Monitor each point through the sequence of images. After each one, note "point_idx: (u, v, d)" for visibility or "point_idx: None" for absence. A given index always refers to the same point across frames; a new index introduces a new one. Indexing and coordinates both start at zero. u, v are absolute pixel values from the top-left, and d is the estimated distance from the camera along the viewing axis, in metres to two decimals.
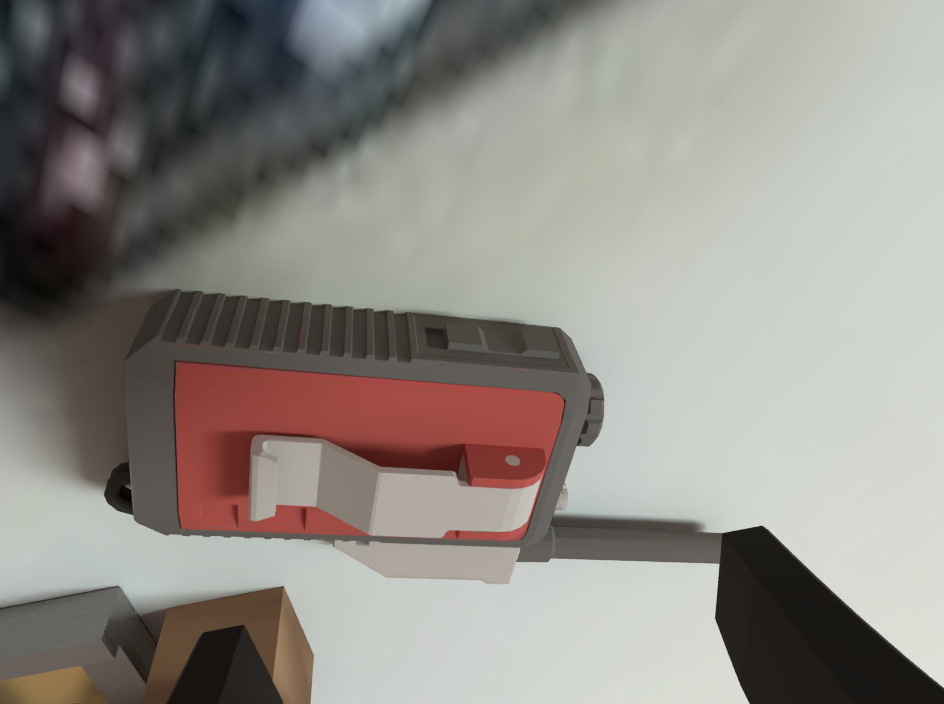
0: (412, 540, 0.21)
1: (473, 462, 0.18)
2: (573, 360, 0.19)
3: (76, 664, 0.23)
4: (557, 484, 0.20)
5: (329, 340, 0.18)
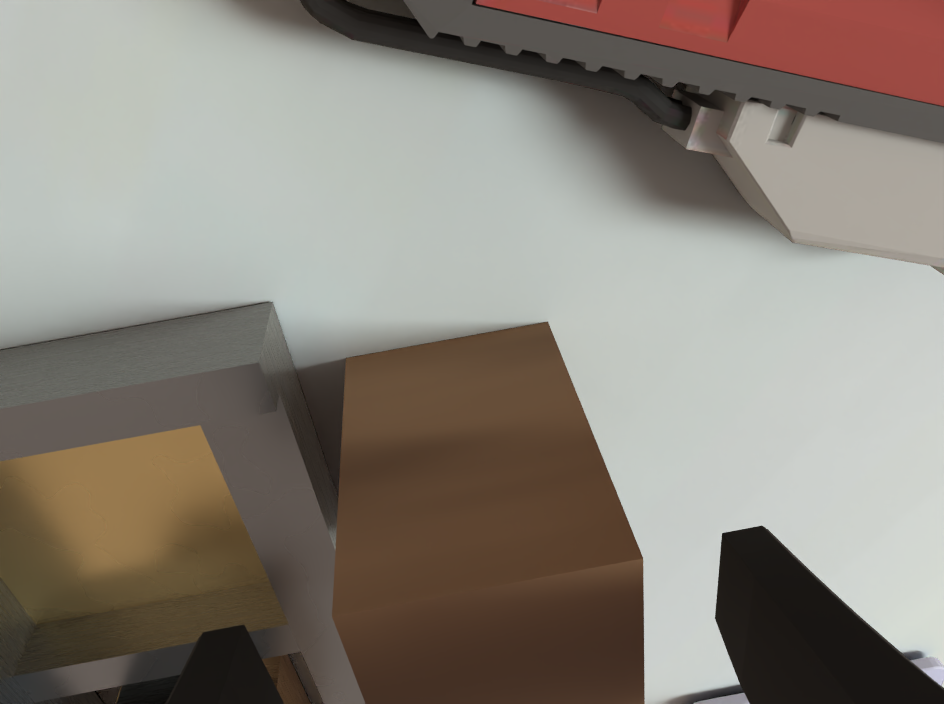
0: (908, 113, 0.10)
1: None
2: None
3: (204, 420, 0.12)
4: None
5: None
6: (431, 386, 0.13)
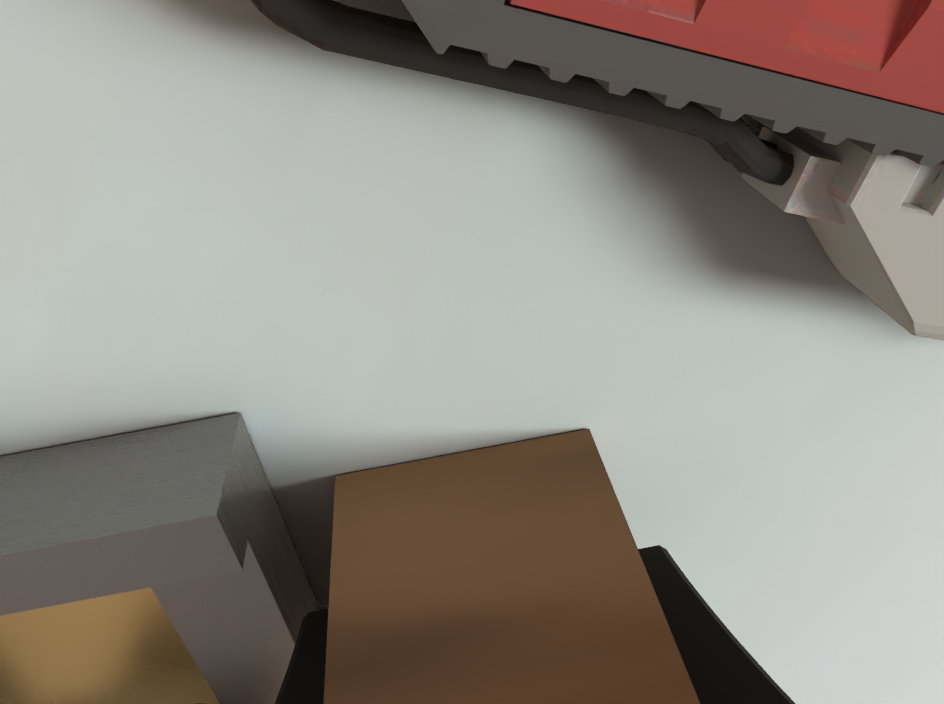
0: None
1: None
2: None
3: (148, 582, 0.09)
4: None
5: None
6: (444, 527, 0.10)
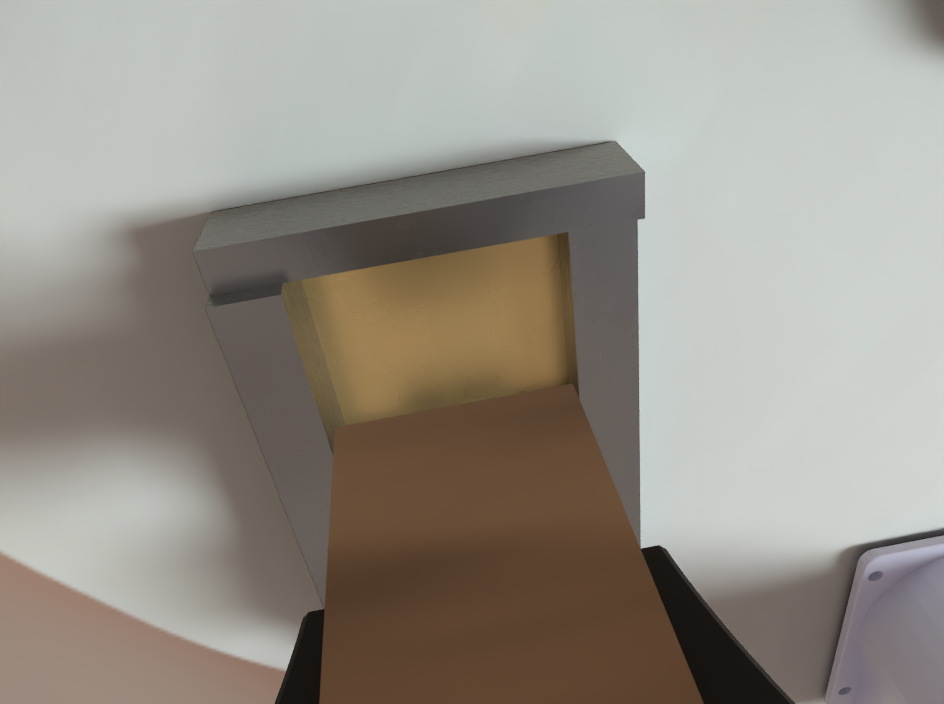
0: None
1: None
2: None
3: (588, 224, 0.15)
4: None
5: None
6: (436, 470, 0.11)
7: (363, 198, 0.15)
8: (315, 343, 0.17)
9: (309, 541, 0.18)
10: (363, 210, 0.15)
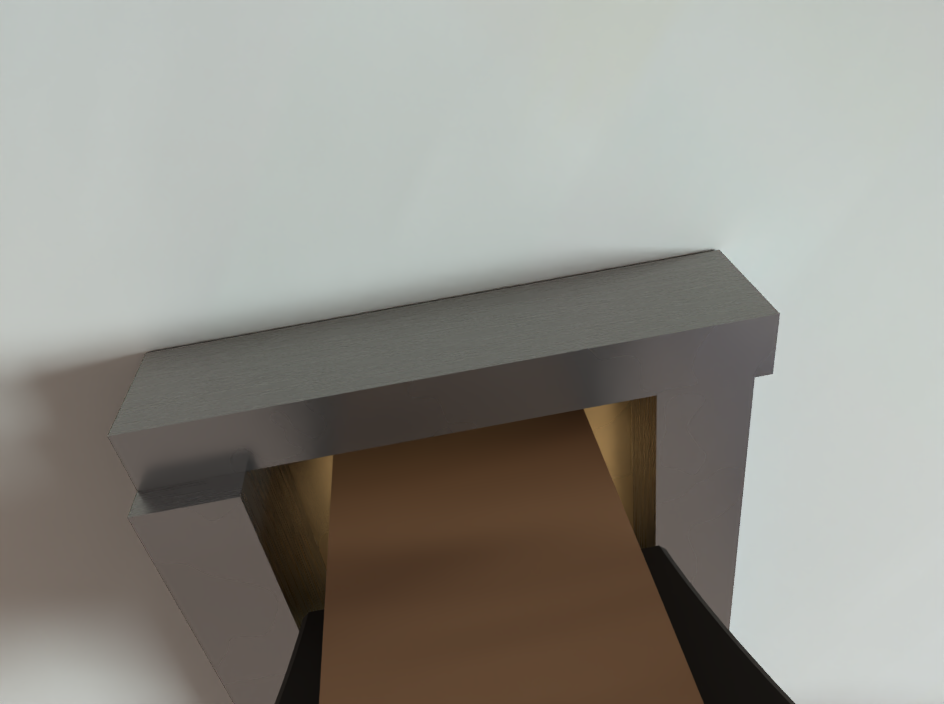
0: None
1: None
2: None
3: (692, 384, 0.10)
4: None
5: None
6: (435, 470, 0.11)
7: (363, 340, 0.11)
8: (297, 518, 0.12)
9: None
10: (363, 365, 0.10)
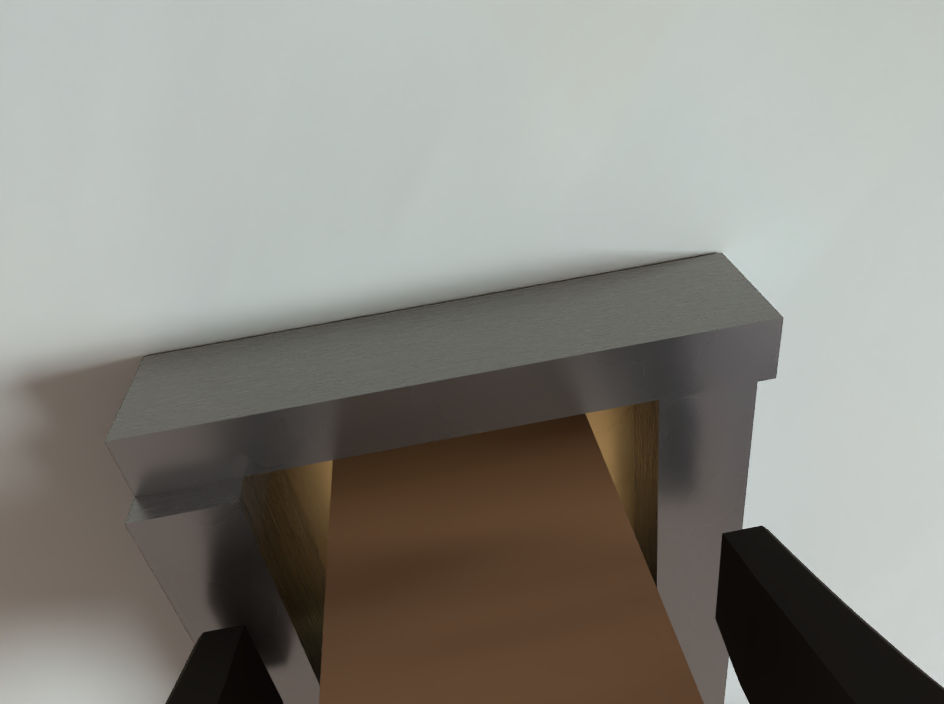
0: None
1: None
2: None
3: (694, 388, 0.10)
4: None
5: None
6: (436, 470, 0.11)
7: (362, 344, 0.10)
8: (296, 523, 0.12)
9: None
10: (362, 369, 0.10)
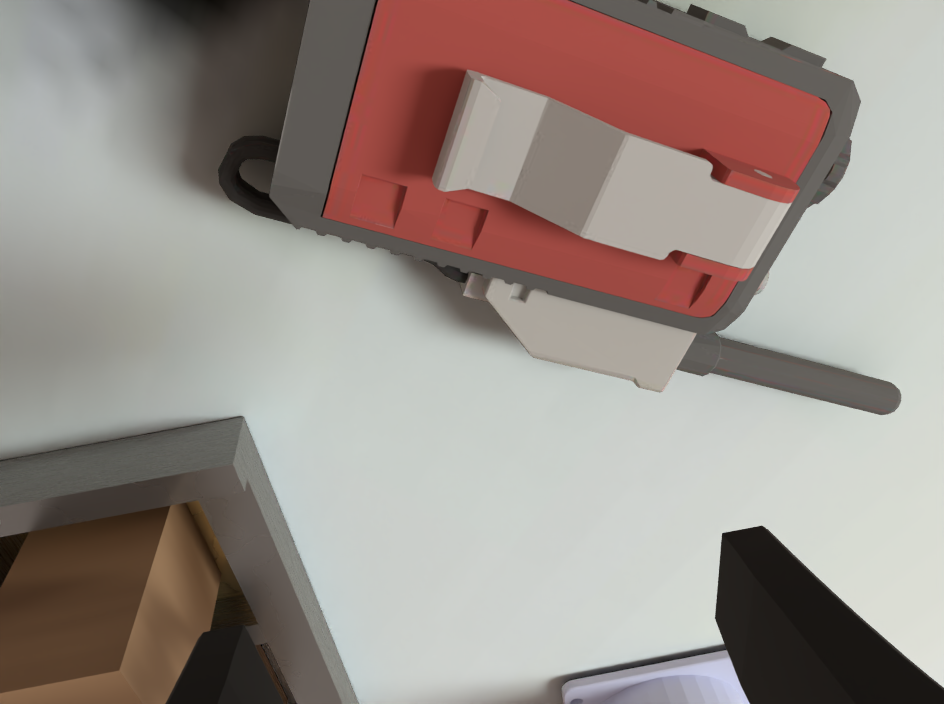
0: (588, 295, 0.17)
1: (723, 162, 0.14)
2: None
3: (200, 497, 0.19)
4: (781, 239, 0.17)
5: None
6: (78, 538, 0.20)
7: (33, 471, 0.20)
8: None
9: None
10: (24, 488, 0.19)
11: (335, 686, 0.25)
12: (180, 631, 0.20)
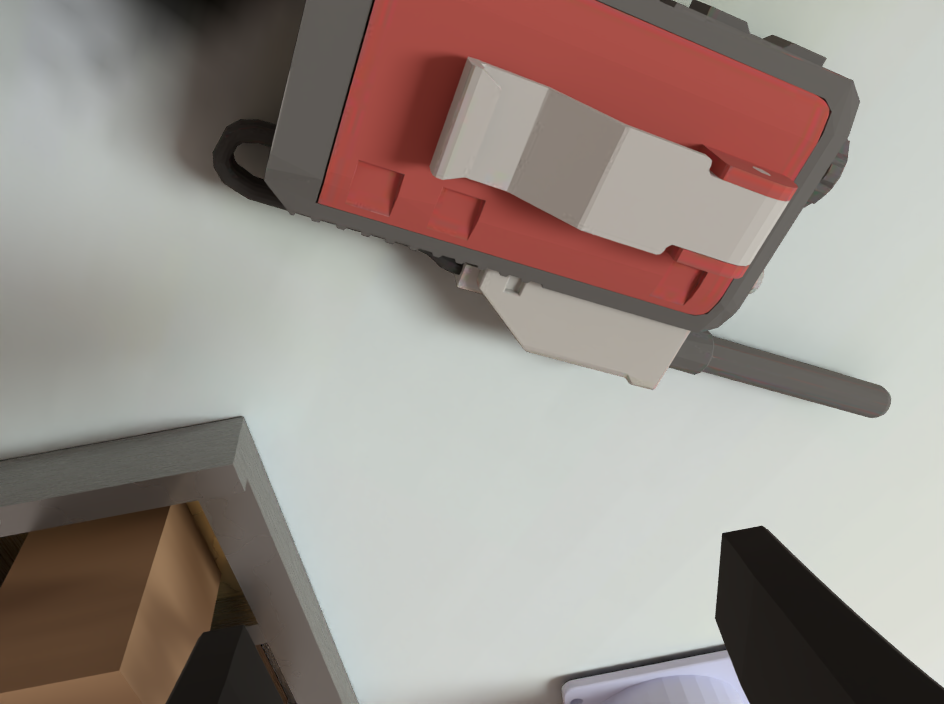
0: (583, 289, 0.17)
1: (722, 157, 0.14)
2: None
3: (200, 497, 0.19)
4: (777, 238, 0.17)
5: None
6: (78, 538, 0.20)
7: (33, 472, 0.20)
8: None
9: None
10: (24, 488, 0.19)
11: (335, 686, 0.25)
12: (180, 631, 0.20)
